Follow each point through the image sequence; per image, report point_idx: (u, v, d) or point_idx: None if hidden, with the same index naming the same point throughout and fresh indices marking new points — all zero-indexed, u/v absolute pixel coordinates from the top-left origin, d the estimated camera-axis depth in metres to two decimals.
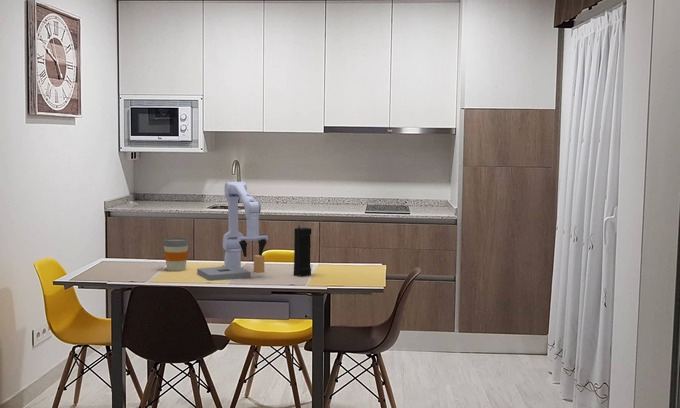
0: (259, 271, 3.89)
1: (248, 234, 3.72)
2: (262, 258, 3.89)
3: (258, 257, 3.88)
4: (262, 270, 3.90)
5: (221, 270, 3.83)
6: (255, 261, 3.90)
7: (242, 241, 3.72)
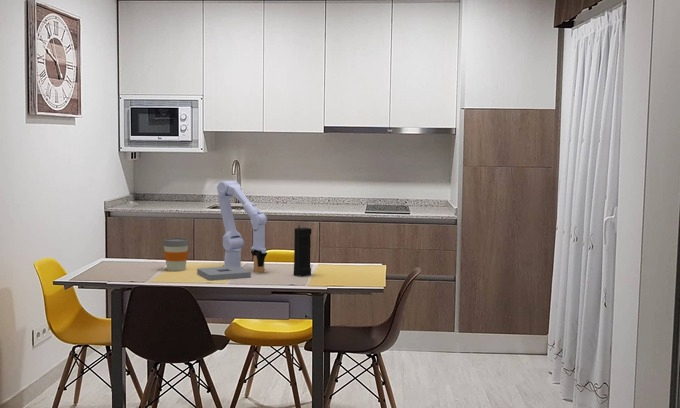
0: (259, 271, 3.89)
1: None
2: None
3: None
4: (262, 270, 3.90)
5: (221, 270, 3.83)
6: (255, 261, 3.90)
7: (253, 249, 3.95)
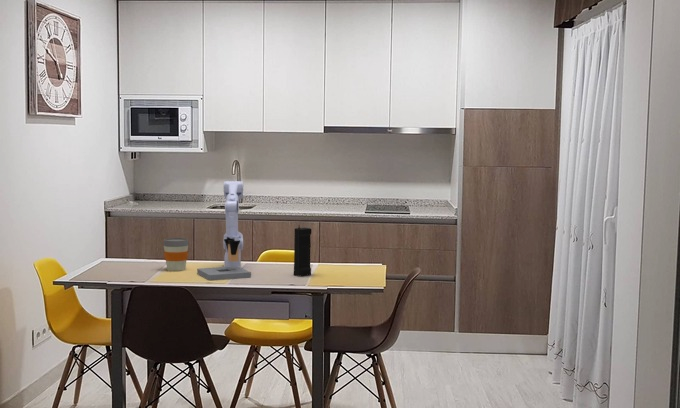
0: (233, 260, 3.80)
1: None
2: None
3: None
4: (236, 259, 3.81)
5: (221, 270, 3.83)
6: (229, 250, 3.81)
7: (226, 237, 3.86)
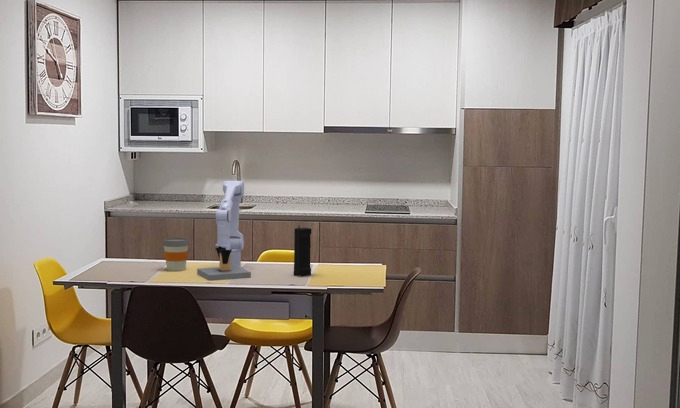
0: (225, 269, 3.78)
1: None
2: None
3: None
4: (228, 268, 3.79)
5: None
6: (221, 259, 3.78)
7: None
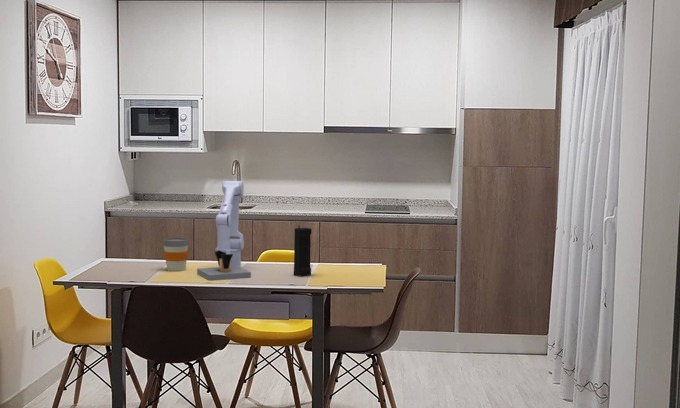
0: None
1: None
2: None
3: None
4: None
5: None
6: (221, 264, 3.79)
7: (218, 250, 3.84)
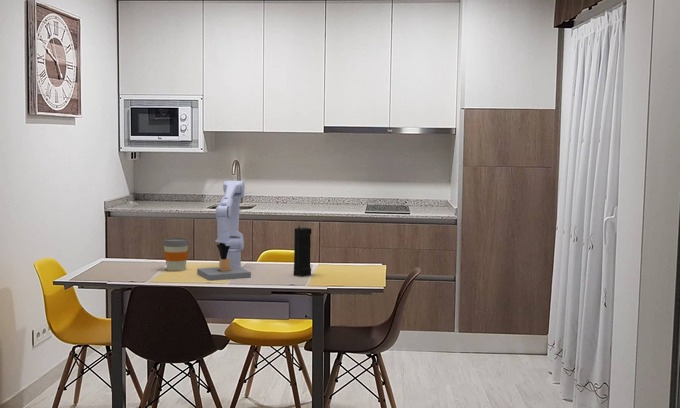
0: None
1: None
2: (228, 261, 3.79)
3: (224, 260, 3.78)
4: None
5: None
6: (221, 264, 3.79)
7: None
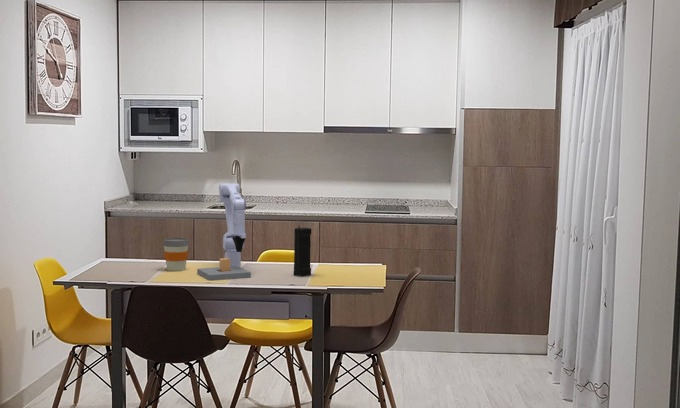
0: None
1: None
2: (228, 261, 3.79)
3: (224, 260, 3.78)
4: None
5: None
6: (221, 264, 3.79)
7: (233, 235, 3.90)
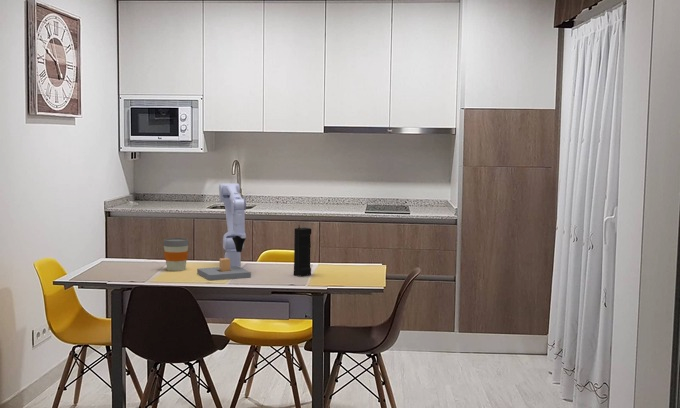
0: None
1: None
2: (228, 261, 3.79)
3: (224, 260, 3.78)
4: None
5: None
6: (221, 264, 3.79)
7: (233, 235, 3.90)
